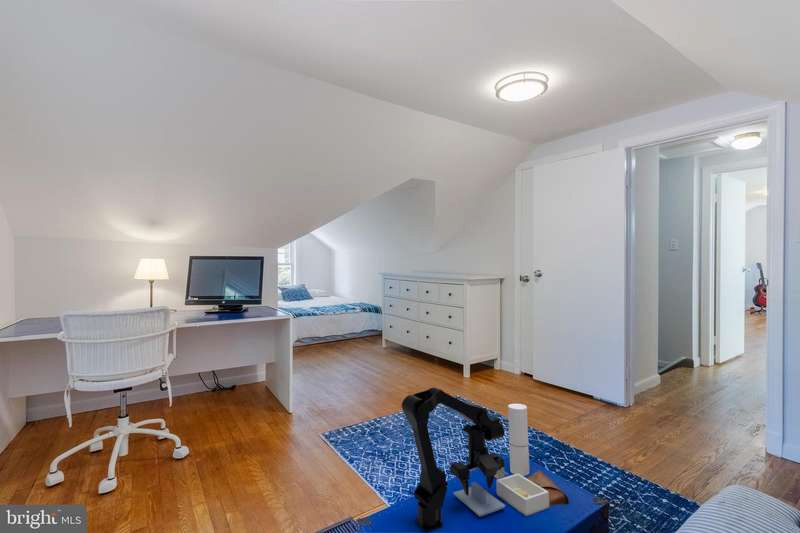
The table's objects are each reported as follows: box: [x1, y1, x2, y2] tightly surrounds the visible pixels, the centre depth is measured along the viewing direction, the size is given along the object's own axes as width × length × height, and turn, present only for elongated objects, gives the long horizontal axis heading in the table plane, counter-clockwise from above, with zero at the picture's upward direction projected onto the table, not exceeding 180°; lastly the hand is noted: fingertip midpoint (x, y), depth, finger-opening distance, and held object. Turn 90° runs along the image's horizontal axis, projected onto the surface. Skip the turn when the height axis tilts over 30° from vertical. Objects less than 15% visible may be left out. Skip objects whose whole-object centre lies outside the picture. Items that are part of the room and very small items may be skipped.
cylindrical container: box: [507, 403, 530, 477], centre depth 150 cm, size 7×7×25 cm
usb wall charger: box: [494, 466, 509, 480], centre depth 145 cm, size 4×7×4 cm, turn 36°
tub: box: [495, 474, 550, 517], centre depth 129 cm, size 10×14×5 cm
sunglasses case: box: [525, 469, 570, 507], centre depth 135 cm, size 18×7×7 cm
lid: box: [452, 481, 506, 517], centre depth 127 cm, size 10×14×6 cm
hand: (478, 491), depth 128 cm, fingers open, 9 cm apart
